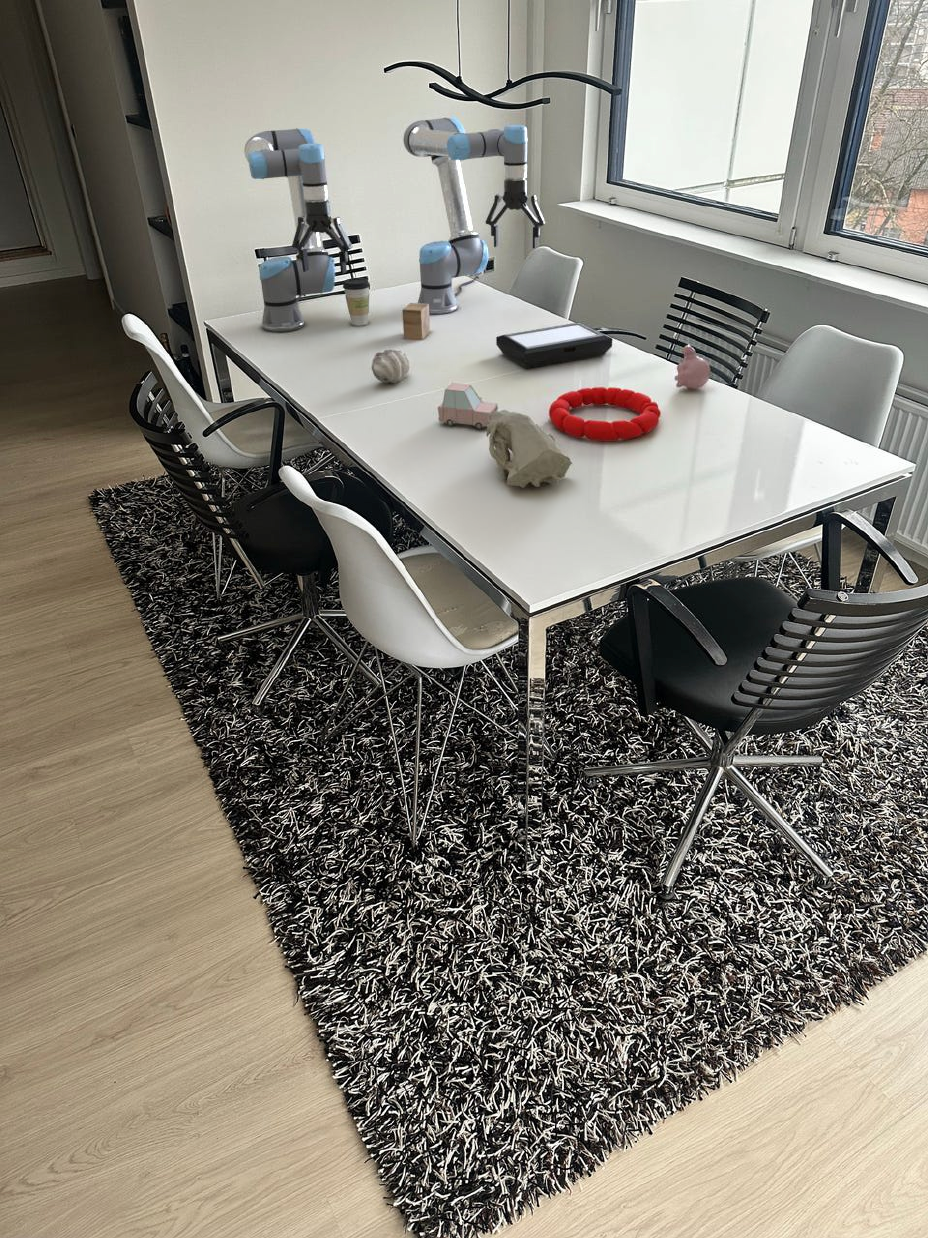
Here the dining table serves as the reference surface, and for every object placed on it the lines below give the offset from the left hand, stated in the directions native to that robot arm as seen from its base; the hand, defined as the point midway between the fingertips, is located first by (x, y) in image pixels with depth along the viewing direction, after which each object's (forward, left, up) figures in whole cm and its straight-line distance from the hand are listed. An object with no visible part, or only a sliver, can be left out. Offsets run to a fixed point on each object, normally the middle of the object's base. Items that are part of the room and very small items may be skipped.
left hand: (324, 271), depth 288 cm
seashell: (+37, +16, -25) cm, 48 cm away
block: (-8, +30, -25) cm, 40 cm away
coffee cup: (-28, +11, -25) cm, 40 cm away
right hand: (-12, +66, +1) cm, 67 cm away
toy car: (+75, +33, -25) cm, 86 cm away
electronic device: (+25, +70, -25) cm, 79 cm away
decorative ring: (+83, +69, -25) cm, 111 cm away
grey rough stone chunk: (+108, +40, -25) cm, 118 cm away
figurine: (+65, +101, -25) cm, 123 cm away
